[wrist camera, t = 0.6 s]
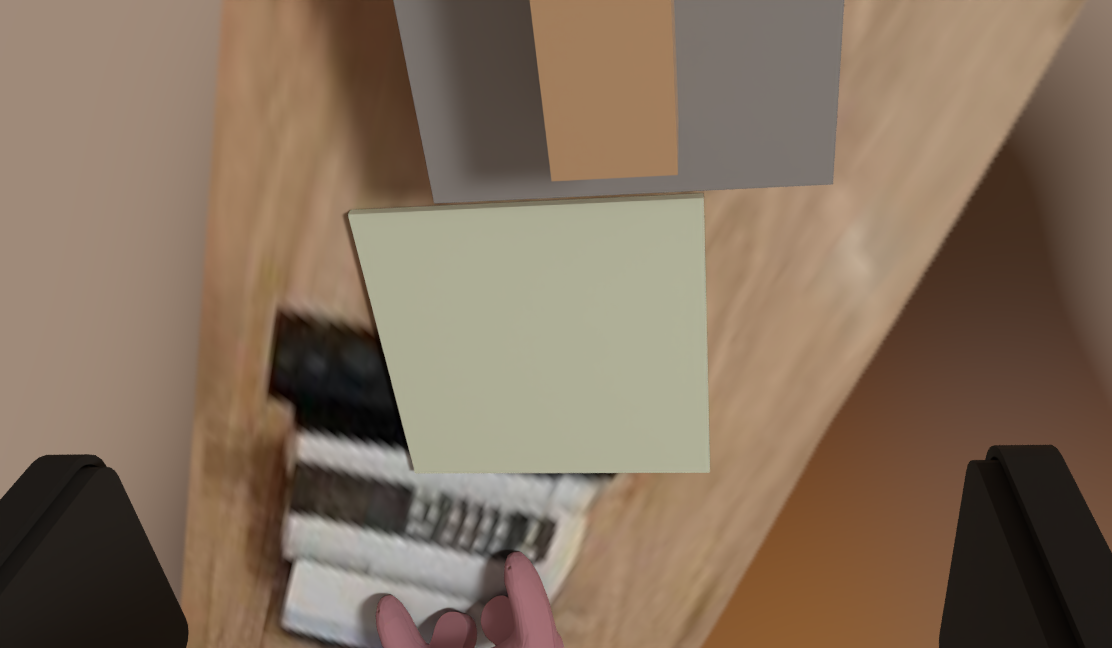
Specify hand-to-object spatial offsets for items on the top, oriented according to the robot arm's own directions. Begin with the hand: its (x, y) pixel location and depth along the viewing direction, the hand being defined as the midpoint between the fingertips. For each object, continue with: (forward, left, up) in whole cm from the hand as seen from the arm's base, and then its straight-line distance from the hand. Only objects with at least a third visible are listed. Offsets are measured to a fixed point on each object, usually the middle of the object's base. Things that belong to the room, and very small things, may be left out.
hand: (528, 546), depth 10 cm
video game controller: (+32, -10, -26) cm, 43 cm away
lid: (-1, 0, -21) cm, 21 cm away
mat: (+15, -5, -25) cm, 30 cm away
